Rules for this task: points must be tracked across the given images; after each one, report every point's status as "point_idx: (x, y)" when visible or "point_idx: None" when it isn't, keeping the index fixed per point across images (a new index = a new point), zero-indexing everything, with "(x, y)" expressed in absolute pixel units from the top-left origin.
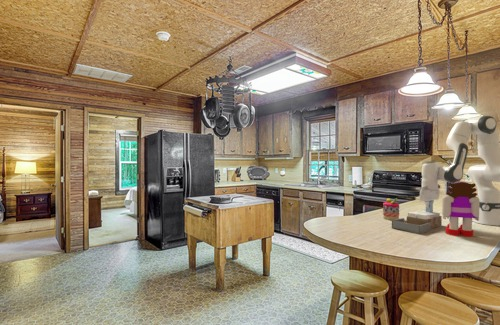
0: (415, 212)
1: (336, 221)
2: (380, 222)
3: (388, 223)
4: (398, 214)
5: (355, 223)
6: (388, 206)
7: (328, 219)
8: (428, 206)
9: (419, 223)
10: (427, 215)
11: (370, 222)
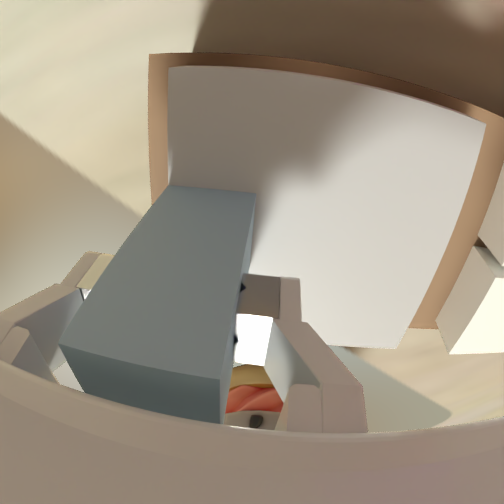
0: (478, 319)
1: None
2: (431, 382)
3: (438, 356)
4: (267, 397)
5: (495, 404)
6: None
7: None
8: (299, 297)
9: None
10: None
11: (453, 397)
